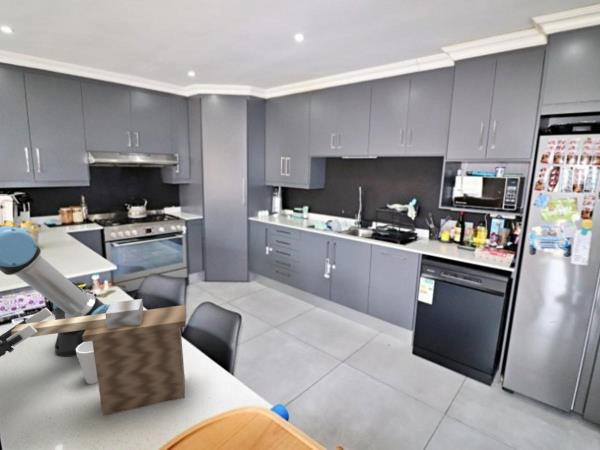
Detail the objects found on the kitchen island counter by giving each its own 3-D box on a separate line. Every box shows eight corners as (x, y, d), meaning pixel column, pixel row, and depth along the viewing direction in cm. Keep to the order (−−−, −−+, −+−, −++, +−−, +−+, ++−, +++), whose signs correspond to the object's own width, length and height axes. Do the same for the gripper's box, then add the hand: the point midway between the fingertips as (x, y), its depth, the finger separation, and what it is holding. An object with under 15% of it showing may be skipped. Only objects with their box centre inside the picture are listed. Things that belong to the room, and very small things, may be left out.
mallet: (8, 343, 90) (5, 326, 89) (22, 329, 97) (19, 313, 96) (140, 324, 100) (138, 309, 99) (143, 313, 108) (142, 298, 107)
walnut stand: (94, 419, 99) (82, 335, 94) (103, 393, 111) (93, 317, 105) (190, 398, 108) (185, 320, 103) (190, 375, 119) (185, 304, 114)
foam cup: (78, 389, 112) (73, 356, 109) (82, 374, 120) (77, 342, 117) (110, 381, 116) (106, 348, 114) (111, 366, 124) (107, 336, 122)
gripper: (-2, 352, 103) (64, 311, 107) (-51, 403, 82) (34, 349, 86) (-21, 336, 100) (47, 294, 104) (-77, 383, 79) (12, 329, 83)
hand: (41, 319), depth 95 cm, fingers open, 10 cm apart
